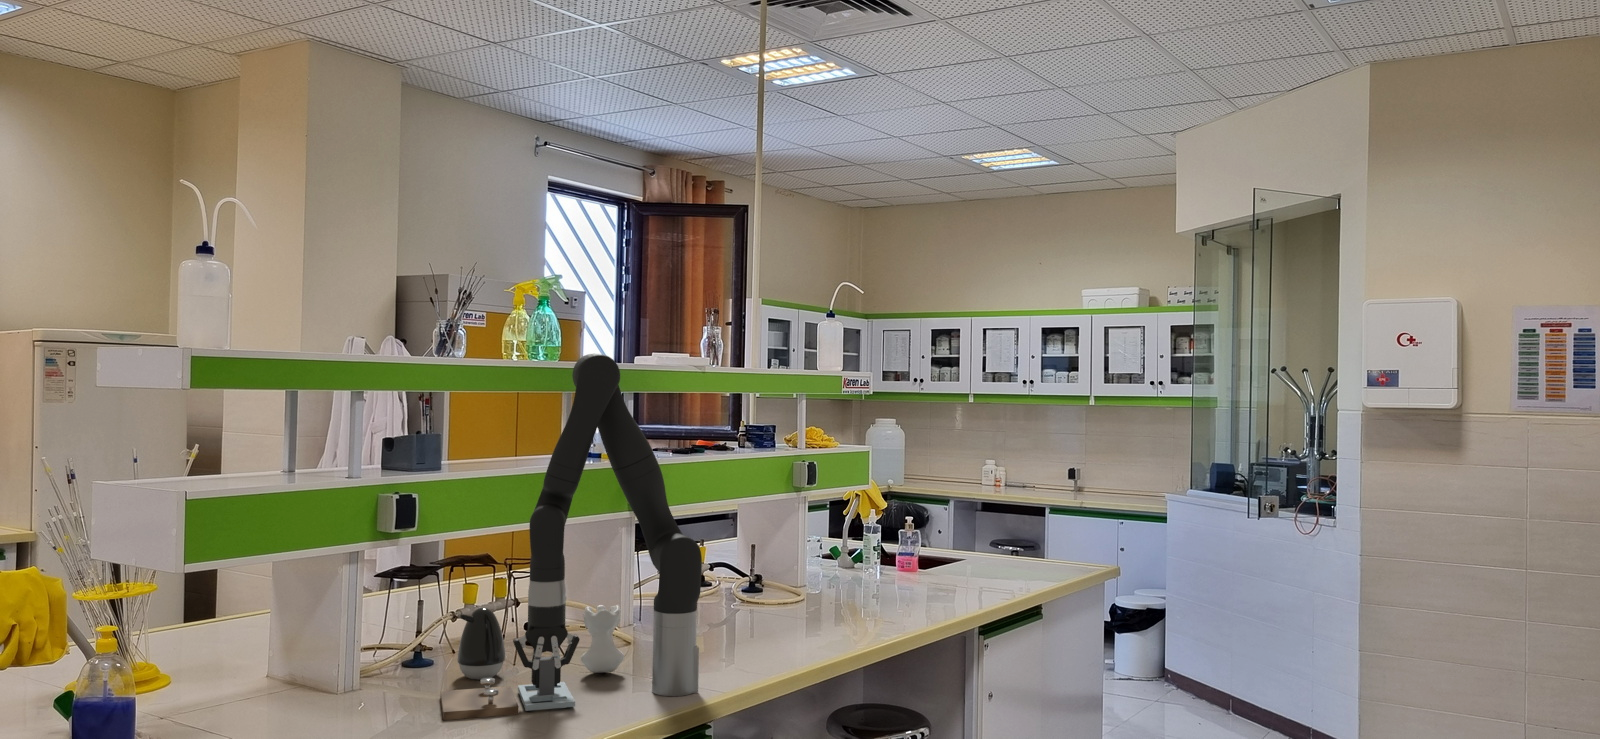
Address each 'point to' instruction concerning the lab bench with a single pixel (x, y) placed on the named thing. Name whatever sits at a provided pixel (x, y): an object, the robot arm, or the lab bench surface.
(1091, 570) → the lab bench surface
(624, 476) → the robot arm
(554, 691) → the keyhole panel
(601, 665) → the white scalloped vase
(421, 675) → the lab bench surface
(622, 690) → the lab bench surface
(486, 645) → the pump dispenser
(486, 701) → the walnut board
